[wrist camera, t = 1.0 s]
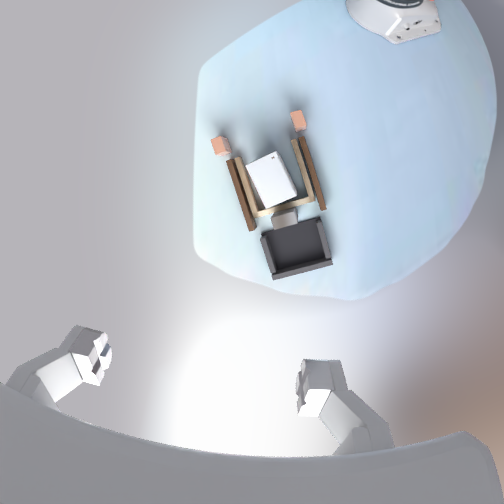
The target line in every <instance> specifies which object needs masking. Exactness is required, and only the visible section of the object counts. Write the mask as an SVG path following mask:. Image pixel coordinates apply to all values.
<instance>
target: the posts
mask: <svg viewBox="0 0 504 504" xmlns="http://www.w3.org/2000/svg"><path fill="white" fill-rule="evenodd" d="M290 115H291V119H292V122H293V125H294V128H295V131H296V132H298V131H302V130H305V129H306V126H307V125H306V122H305V119H304V116H303V114H302V111H301V110H298V111H294V112H291V113H290ZM211 142H212V145H213V148H214V151H215V154H216V155H219V156H224V155H227V154H230V153H232V151H231V148H230V145H229V142H228V139H227V138H225V137H222V136H219V137H216V138H214V139H211Z"/></svg>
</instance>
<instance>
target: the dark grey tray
mask: <svg viewBox="0 0 504 504" xmlns="http://www.w3.org/2000/svg"><path fill="white" fill-rule="evenodd" d="M261 235H262V237H261V239H260V241H261V244H262V247H263V250H264V253H265V256H266V259H267V263H268V266H269V269H270V272H271V273H272V278H273V280H276V279H280V278H284V277H288V276H292V275H296V274H300V273H304V272H307V271H311V270H315V269H319V268H322V267H326V266H330V265H333V263H332V259H331V255H330V251H329V247H328V243H327V240H326V236H325V232H324V228H323V225H322V221H321V219H320V217H318V218H315V219H311V220H307V221H304V222H300V223H297V224H294V225H290V226H287V227H283V228H279V229H276V230H272V231H269V232H265V233H262V234H261Z"/></svg>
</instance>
